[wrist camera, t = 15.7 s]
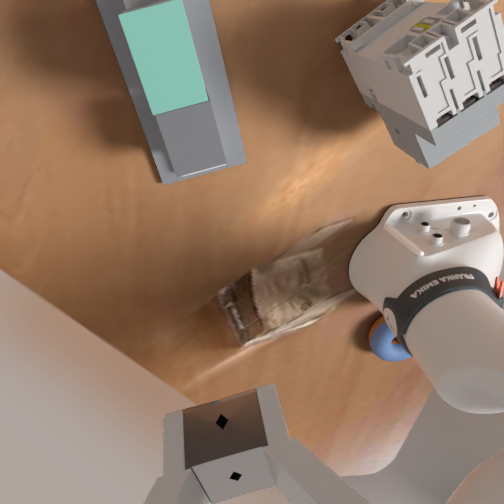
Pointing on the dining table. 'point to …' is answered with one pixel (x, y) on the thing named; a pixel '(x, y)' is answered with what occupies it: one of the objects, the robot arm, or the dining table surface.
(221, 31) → the dining table surface
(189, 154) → the rail assembly
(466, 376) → the robot arm
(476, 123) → the circuit breaker
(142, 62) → the block
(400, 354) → the doughnut
